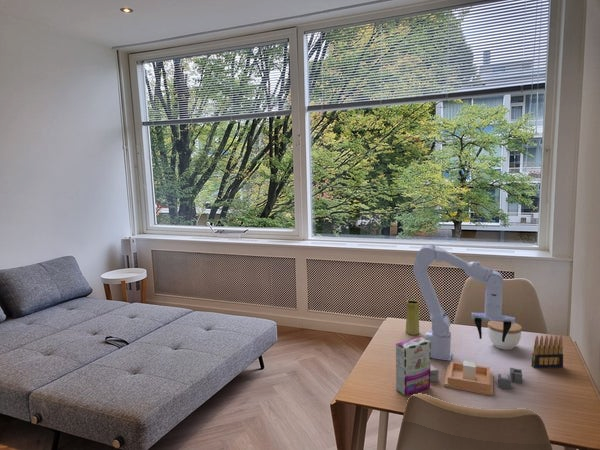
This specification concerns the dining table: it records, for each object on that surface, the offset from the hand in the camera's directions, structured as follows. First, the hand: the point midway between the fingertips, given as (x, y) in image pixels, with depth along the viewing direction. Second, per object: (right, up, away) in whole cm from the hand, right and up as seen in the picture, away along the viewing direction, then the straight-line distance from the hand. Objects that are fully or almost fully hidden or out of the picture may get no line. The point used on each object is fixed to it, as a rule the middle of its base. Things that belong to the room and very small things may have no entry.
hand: (491, 339), depth 156 cm
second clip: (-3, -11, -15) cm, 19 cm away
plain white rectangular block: (-13, -10, -11) cm, 20 cm away
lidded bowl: (+12, -8, +16) cm, 22 cm away
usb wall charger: (-26, -11, -8) cm, 30 cm away
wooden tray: (-13, -11, -11) cm, 21 cm away
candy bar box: (-34, -12, -16) cm, 40 cm away
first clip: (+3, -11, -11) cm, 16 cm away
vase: (-21, -6, +32) cm, 39 cm away
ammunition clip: (+20, -10, -2) cm, 22 cm away
